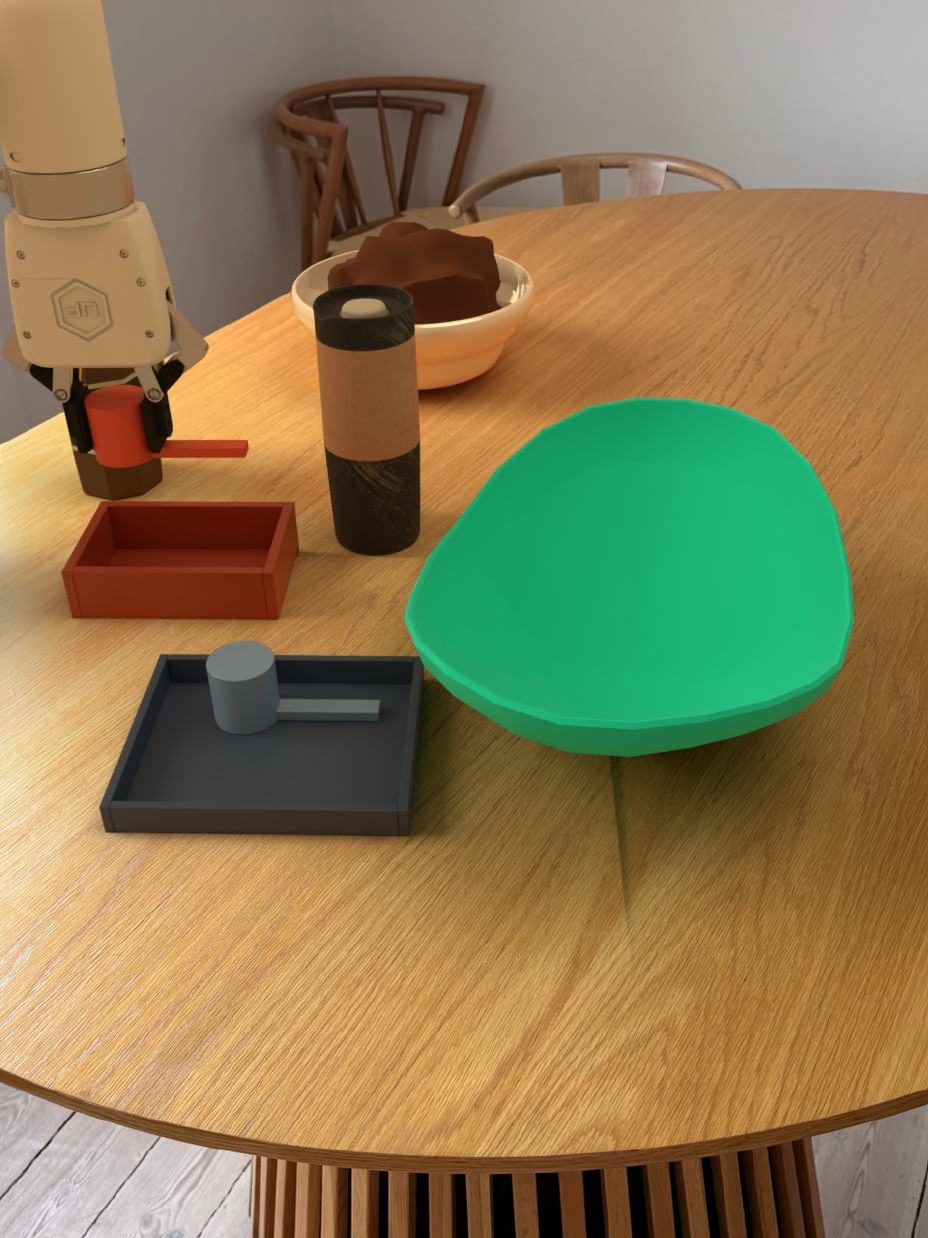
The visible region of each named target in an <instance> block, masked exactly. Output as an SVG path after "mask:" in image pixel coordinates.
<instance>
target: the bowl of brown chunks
mask: <svg viewBox="0 0 928 1238" xmlns="http://www.w3.org/2000/svg"><path fill="white" fill-rule="evenodd" d="M356 284H381V285H388V286H393V287H397V288H400V289H402V290H405V291H406V292H408V293H409V294H410V295H411V296H412V298H413V302H414V320H415V341H416V362H417V383H418V391H424V390H425V391H426V390H435V389H441V388H448V387H452V386H455V385H459V384H462V383H465V382H468V381H470V380H472V379H475V378H476V377H478V376H481V375H483V374H484V373H485V372H487V371H488V370H490V369H491V368H492V367H493V366H494V365H495V364H496V363H497V361H498V360H499V357H500V356H501V354H502V352H503V350H504V348H505V346H506V343H507V340H508V339H510V337H511V336H512V335H514V333H515V332H516V331H518V329H519V328H520V326H521V325H522V324H523V322H524V321H525V319H526V318H527V317H528V315H529V313H530V312H531V309H532V307H533V305H534V303H535V298H536V285H535V282H534V279H533V277H532V275H531V274H530V273H529V272H528V271H527V270H526V268H525V267H524V266H522V265H520V264H519V263H517V262H516V261H514V260H513V259H510V258H509V257H505V256H502V255H501V254H500V255H499V254H497V253H495V249H494V242H493V240H492V239H491V238H488V237H486V236H484V235H480V236H479V235H477V236H472V235H465V234H460V233H457V232H455V231H452V230H449V229H445V228H438V227H437V228H430V229H428V228H427V227H426V226H425V225H423V224H420V223H418V222H415V221H391V222H388V223H387V224H386V225H384V226H382V228H381V231H380V232H379V234H378V236H375V235H366V237H364V240H363V242H362V243H361V245H360V247H359V249H357V250H352V251H348V252H345V253H341V254H338V255H334V256H332V257H328V258H326V259H324V260H321V261H318V262H316V263H315V264H312V265H310V266H309V267H307V268H306V269H305V270H303V271H302V272H301V273H300V274H299V275H298V276H297V277H296V279H295V280H294V281H293V284H292V285H291V289H290V295H289V296H290V302H291V308H292V310H293V312H294V314H295V316H296V318H297V319H298V321H299V323H300V324H301V325H302V326H303V327H304V328H305V330H306V331H307V332H308V333H309V334H310V335H311V336H312V337H313V338H314V339H315V340H316V334H315V321H314V312H313V303H314V301H315V299H316V298H317V297H318V296H319V295H321V294H322V293H324V292H326V291H328V290H331V289H334V288H338V287H342V286H348V285H356Z"/></svg>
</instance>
